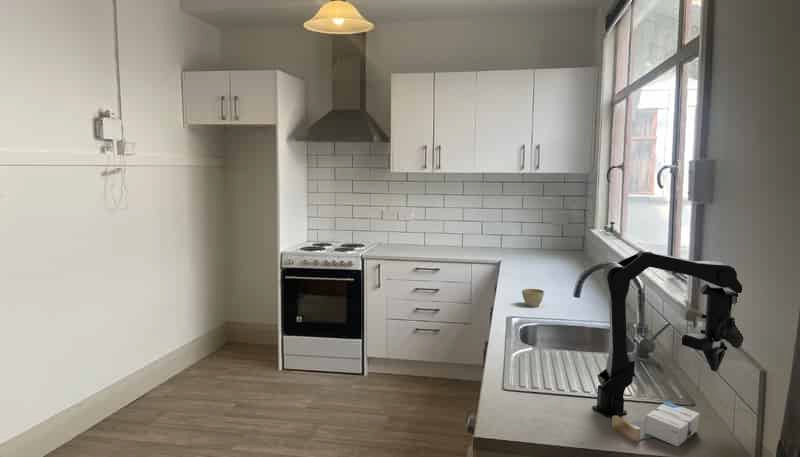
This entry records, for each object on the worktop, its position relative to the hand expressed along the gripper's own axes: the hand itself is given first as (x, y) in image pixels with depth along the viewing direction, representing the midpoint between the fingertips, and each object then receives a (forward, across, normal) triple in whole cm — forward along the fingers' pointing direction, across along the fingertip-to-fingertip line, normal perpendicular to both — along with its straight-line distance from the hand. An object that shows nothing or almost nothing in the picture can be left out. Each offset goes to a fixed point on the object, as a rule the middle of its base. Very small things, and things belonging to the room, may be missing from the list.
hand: (714, 370), depth 154 cm
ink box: (+10, -11, 0) cm, 15 cm away
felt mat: (+13, -20, +2) cm, 24 cm away
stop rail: (+13, -27, +2) cm, 30 cm away
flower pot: (+13, +31, +120) cm, 125 cm away
